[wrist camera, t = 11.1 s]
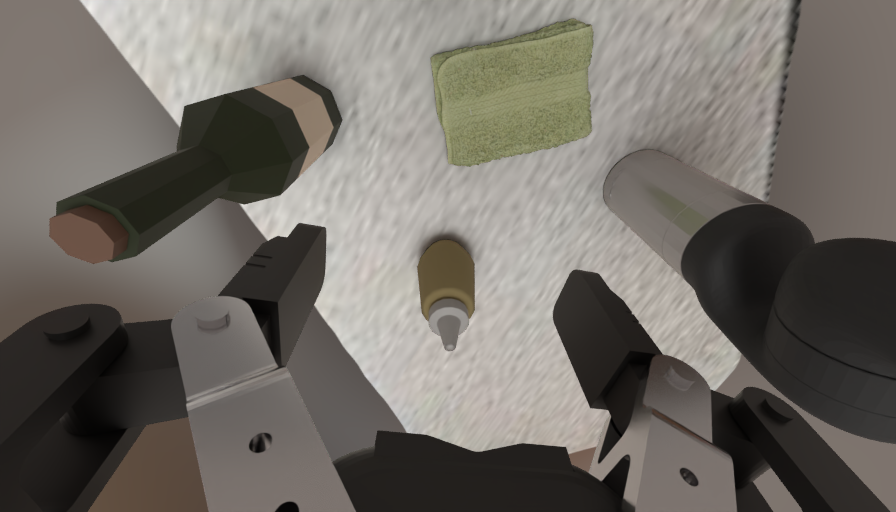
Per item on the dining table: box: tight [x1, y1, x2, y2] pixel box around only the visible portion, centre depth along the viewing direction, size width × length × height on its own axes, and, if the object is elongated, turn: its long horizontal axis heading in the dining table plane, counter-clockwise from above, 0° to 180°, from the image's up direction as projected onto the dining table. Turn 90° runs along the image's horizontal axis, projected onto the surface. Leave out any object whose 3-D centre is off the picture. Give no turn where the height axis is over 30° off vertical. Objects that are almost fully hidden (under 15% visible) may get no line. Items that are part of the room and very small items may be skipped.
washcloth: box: [431, 19, 593, 167], centre depth 39 cm, size 13×18×3 cm
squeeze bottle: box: [417, 240, 475, 351], centre depth 43 cm, size 8×8×18 cm
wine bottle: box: [49, 75, 342, 264], centre depth 27 cm, size 8×8×30 cm
